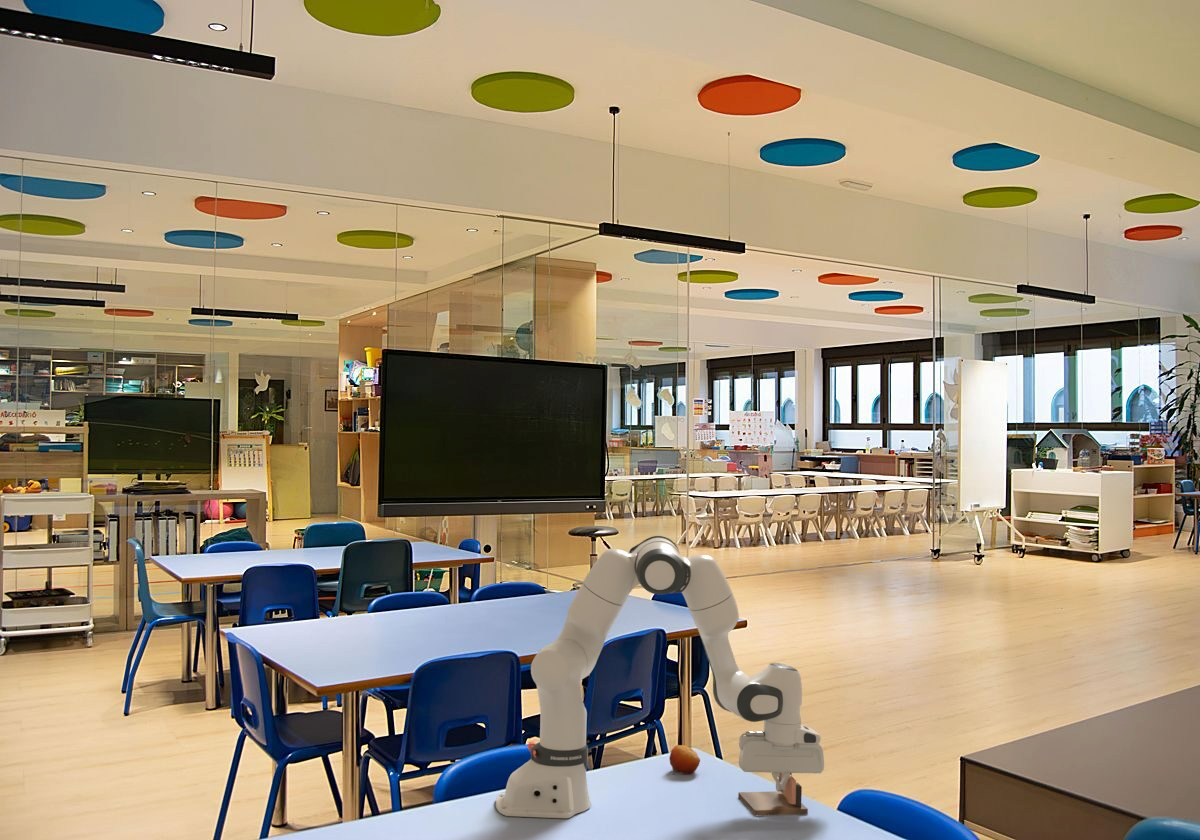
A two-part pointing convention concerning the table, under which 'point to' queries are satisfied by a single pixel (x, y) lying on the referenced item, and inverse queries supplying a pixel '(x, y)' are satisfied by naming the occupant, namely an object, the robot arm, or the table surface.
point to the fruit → (684, 760)
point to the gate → (789, 789)
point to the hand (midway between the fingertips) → (780, 790)
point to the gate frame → (773, 802)
